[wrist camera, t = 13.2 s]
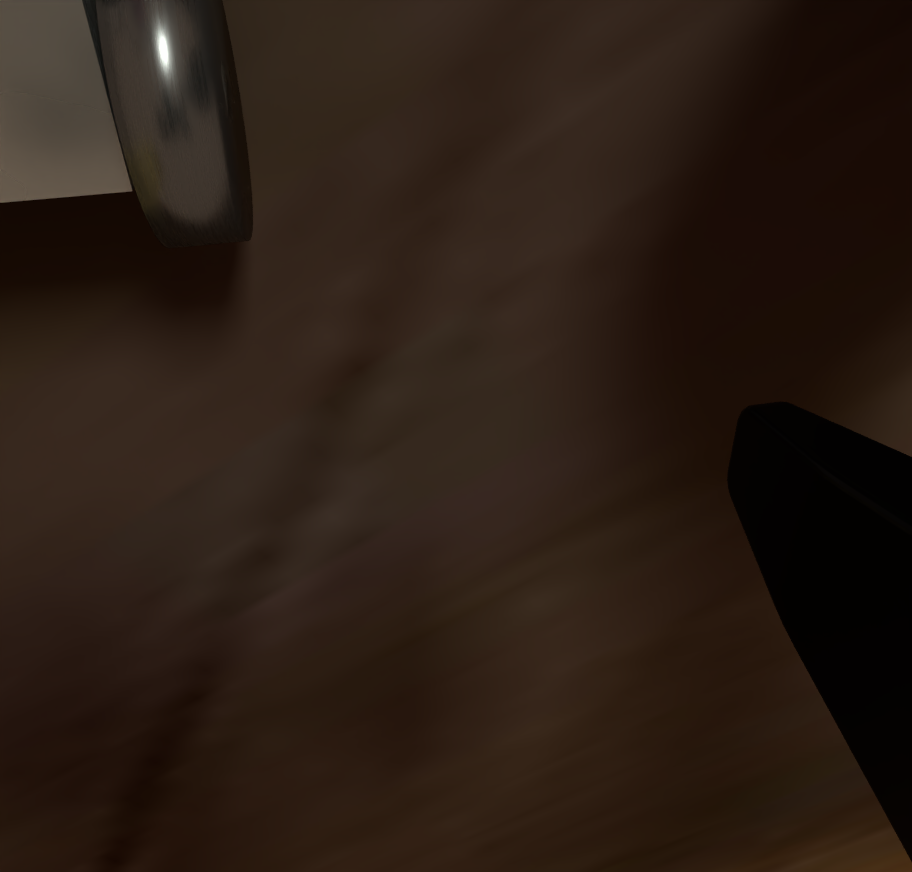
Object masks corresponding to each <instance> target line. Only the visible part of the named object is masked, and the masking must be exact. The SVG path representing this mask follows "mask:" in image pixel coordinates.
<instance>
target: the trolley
mask: <svg viewBox="0 0 912 872" xmlns="http://www.w3.org/2000/svg"><path fill="white" fill-rule="evenodd" d="M134 188H135V190H136V193H137V196H138V199H139V202H140V204H141V207H142V209H143V212H144V214H145V216H146V218H147V221H148V223H149V225H150V227H151V229H152V231H153V232H154V234H155V236H156V237H157V239H158V240H159V241H160V243H161V244H162V245H164V246H165V247H167V248H177V247H187V246H198V245H208V244H219V243H230V242H240V241H249V240H251V237H252V231H253V205H252V189H251V178H250V168H249V158H248V150H247V142H246V134H245V126H244V119H243V112H242V105H241V99H240V92H239V86H238V80H237V74H236V68H235V62H234V57H233V51H232V46H231V41H230V35H229V30H228V25H227V20H226V15H225V10H224V6H223V1H222V0H0V203H3V202H15V201H26V200H38V199H49V198H61V197H72V196H84V195H95V194H107V193H118V192H129V191H133V189H134Z"/></svg>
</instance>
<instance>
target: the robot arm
mask: <svg viewBox="0 0 912 872" xmlns="http://www.w3.org/2000/svg"><path fill="white" fill-rule="evenodd" d="M727 481H728V489H729V493H730V496H731V499H732V502H733V504H734V506H735V509H736V511H737V514H738V516H739V519H740V521H741V524H742V526H743V529H744V531H745V534H746V536H747V539H748V541H749V544H750V546H751V548H752V551H753V553H754V556H755V558H756V561H757V563H758V566H759V568H760V571H761V573H762V576H763V578H764V581H765V583H766V586H767V588H768V590H769V593H770V595H771V598H772V600H773V603H774V605H775V607H776V610H777V612H778V614H779V616H780V619H781V621H782V623H783V625H784V627H785V629H786V631H787V633H788V635H789V637H790V639H791V641H792V643H793V645H794V647H795V649H796V650H797V652H798V654H799V656H800V658H801V660H802V661H803V663H804V665H805V667H806V669H807V671H808V672H809V674H810V676H811V678H812V680H813V682H814V683H815V685H816V687H817V689H818V691H819V693H820V694H821V696H822V698H823V700H824V702H825V704H826V705H827V707H828V709H829V711H830V713H831V715H832V716H833V718H834V720H835V722H836V724H837V726H838V728H839V729H840V731H841V733H842V735H843V737H844V739H845V740H846V742H847V744H848V746H849V748H850V750H851V751H852V753H853V755H854V757H855V759H856V761H857V762H858V764H859V766H860V768H861V770H862V772H863V773H864V775H865V777H866V779H867V781H868V783H869V784H870V786H871V788H872V790H873V792H874V794H875V795H876V797H877V799H878V801H879V803H880V805H881V806H882V808H883V810H884V812H885V814H886V816H887V817H888V819H889V821H890V823H891V825H892V827H893V828H894V830H895V832H896V834H897V836H898V838H899V839H900V841H901V843H902V845H903V847H904V849H905V850H906V852H907V854H908V856H909V858H910V860H911V861H912V457H911V456H908V455H906V454H904V453H901V452H899V451H897V450H895V449H892V448H890V447H888V446H886V445H883V444H881V443H879V442H877V441H874V440H872V439H870V438H868V437H865V436H863V435H861V434H858V433H856V432H854V431H852V430H849V429H847V428H845V427H843V426H840V425H838V424H836V423H834V422H831V421H829V420H827V419H825V418H822V417H820V416H818V415H815V414H813V413H811V412H809V411H806V410H804V409H802V408H800V407H797V406H795V405H793V404H790V403H788V402H774V403H766V404H758V405H751V406H748V407H746V408H745V409H744V410H743V411H742V412H741V414H740V416H739V418H738V422H737V427H736V432H735V437H734V442H733V447H732V452H731V457H730V463H729V468H728V477H727Z"/></svg>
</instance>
